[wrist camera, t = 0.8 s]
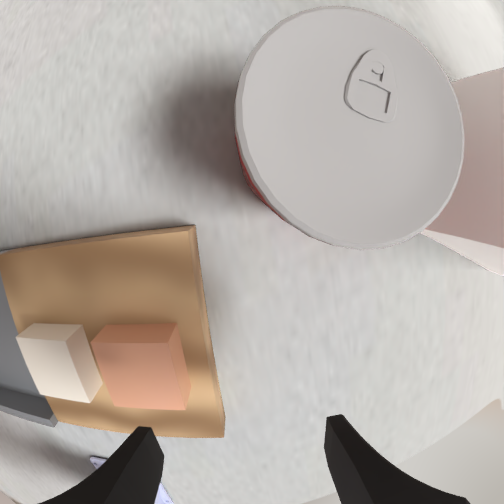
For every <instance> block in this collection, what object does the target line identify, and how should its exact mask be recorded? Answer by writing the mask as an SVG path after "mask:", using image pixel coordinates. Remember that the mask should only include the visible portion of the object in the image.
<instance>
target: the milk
mask: <svg viewBox="0 0 504 504" xmlns="http://www.w3.org/2000/svg"><path fill="white" fill-rule="evenodd" d="M451 85H452V87H453V90H454V92H455V94H456V97H457V100H458V104H459V107H460V111H461V115H462V120H463V129H464V155H463V163H462V167H461V171H460V176H459V179H458V183H457V185H456V187H455V189H454V192H453V194H452V196H451V198H450V200H449V202H448V203H447V205H446V206H445V207H444V209H443V210H442V212H441V213H440V214H439V216H438V217H437V218H436V219H435V220H434V221H433V222H432V223H431V224H430V225H429V226H427V227H426V228H425V229H424V230H423V231H422V232H420V233H421V234H423V235H425V236H427V237H429V238H431V239H433V240H434V241H436V242H438V243H440V244H442V245H444V246H446V247H448V248H449V249H451V250H453V251H455V252H457V253H459V254H460V255H462V256H464V257H466V258H468V259H469V260H471V261H473V262H475V263H476V264H478V265H480V266H481V267H483V268H485V269H487V270H488V271H490V272H493V273H495V274H498V275H501V276H504V68H500V69H496V70H492V71H488V72H485V73H481V74H477V75H474V76H471V77H467V78H464V79H460V80H457V81H454V82H451Z"/></svg>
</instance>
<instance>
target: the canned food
mask: <svg viewBox="0 0 504 504" xmlns="http://www.w3.org/2000/svg"><path fill="white" fill-rule="evenodd" d="M234 121H235V139H236V144H237V149H238V153H239V158H240V163H241V167H242V171H243V174H244V176H245V179H246V181H247V183H248V185H249V186H250V188H251V189H252V191H253V192H254V193H255V195H256V196H257V197H258V198H259V199H260V200H261V201H262V202H264V203H265V204H266V205H267V206H268V207H269V208H270V209H271V210H272V211H273V212H275V213H276V214H277V215H278V216H279V217H280V218H281V219H283V220H284V221H286V222H287V223H289V224H290V225H292V226H293V227H295V228H297V229H298V230H300V231H301V232H303V233H304V234H306V235H307V236H309V237H312V238H315V239H317V240H320V241H322V242H325V243H328V244H330V245H335V246H338V247H344V248H351V249H357V250H368V249H382V248H386V247H389V246H393V245H396V244H399V243H402V242H405V241H406V240H408V239H410V238H412V237H413V236H415V235H417V234H419V233H420V232H422V231H423V230H424V229H425V228H426V227H427V226H429V225H430V224H431V223H432V222H433V221H434V220H435V219H436V218H437V217H438V216H439V214H440V213H441V212H442V210H443V209H444V207H445V206H446V205H447V203H448V202H449V200H450V198H451V196H452V194H453V192H454V189H455V187H456V185H457V183H458V179H459V176H460V171H461V167H462V163H463V155H464V129H463V120H462V115H461V111H460V107H459V104H458V100H457V97H456V94H455V92H454V90H453V87H452V85H451V83H450V81H449V79H448V77H447V75H446V73H445V72H444V70H443V69H442V67H441V66H440V64H439V63H438V61H437V60H436V58H435V57H434V56H433V55H432V54H431V52H430V51H429V50H428V49H427V48H426V47H425V46H424V45H423V44H422V43H421V42H420V41H419V40H418V39H417V38H416V37H414V36H413V35H412V34H411V33H409V32H408V31H407V30H406V29H404V28H403V27H401V26H400V25H398V24H396V23H394V22H393V21H391V20H389V19H387V18H385V17H383V16H380V15H378V14H375V13H372V12H369V11H366V10H363V9H357V8H351V7H345V6H328V7H318V8H313V9H309V10H305V11H301V12H299V13H296V14H294V15H292V16H290V17H288V18H286V19H284V20H282V21H280V22H279V23H278V24H277V25H275V26H274V27H273V28H272V29H271V30H269V31H268V32H267V33H266V34H265V35H263V37H262V38H261V39H260V41H259V42H258V43H257V45H256V46H255V47H254V49H253V50H252V51H251V53H250V54H249V57H248V59H247V61H246V63H245V66H244V68H243V70H242V73H241V75H240V79H239V81H238V87H237V92H236V98H235V103H234Z"/></svg>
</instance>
